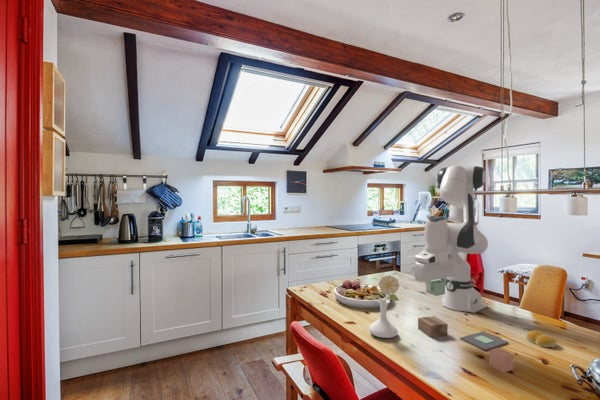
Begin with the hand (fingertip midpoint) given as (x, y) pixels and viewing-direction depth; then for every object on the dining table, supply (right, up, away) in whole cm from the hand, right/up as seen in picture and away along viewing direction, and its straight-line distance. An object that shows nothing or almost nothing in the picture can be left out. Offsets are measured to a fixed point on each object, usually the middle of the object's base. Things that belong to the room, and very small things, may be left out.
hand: (435, 289), depth 125 cm
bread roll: (+38, -19, -6) cm, 43 cm away
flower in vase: (-21, -18, -1) cm, 28 cm away
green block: (0, -2, 0) cm, 2 cm away
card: (+16, -19, -6) cm, 25 cm away
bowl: (-22, -18, +40) cm, 49 cm away
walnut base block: (-1, -19, +2) cm, 19 cm away
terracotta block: (+11, -19, -24) cm, 32 cm away
